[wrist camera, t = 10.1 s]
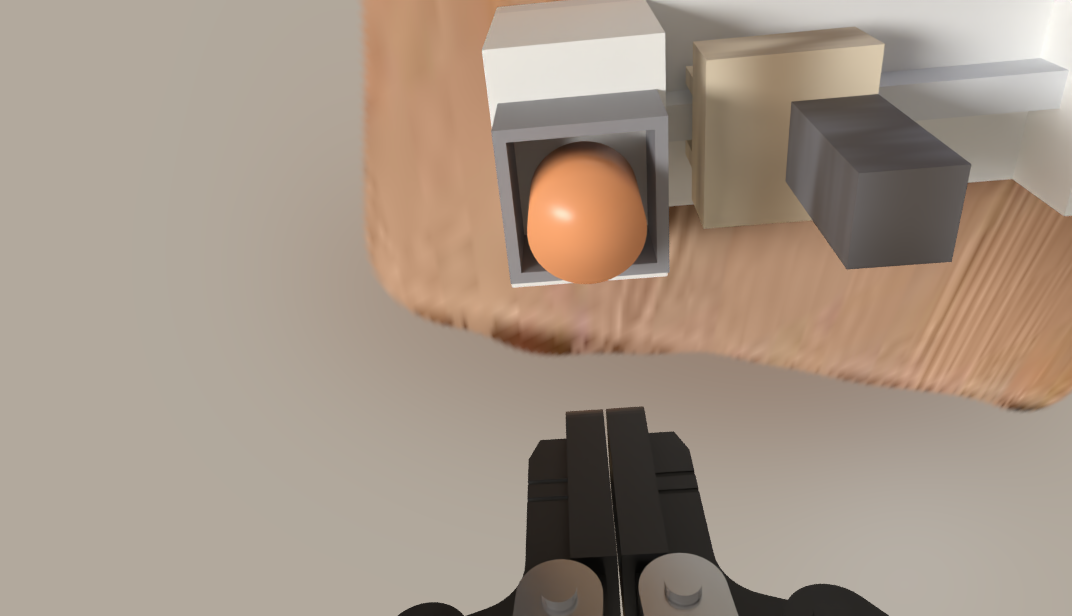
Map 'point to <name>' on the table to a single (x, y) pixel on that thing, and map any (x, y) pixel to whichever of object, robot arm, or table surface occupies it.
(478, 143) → the table surface
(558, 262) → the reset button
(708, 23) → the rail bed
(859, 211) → the carriage
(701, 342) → the table surface
